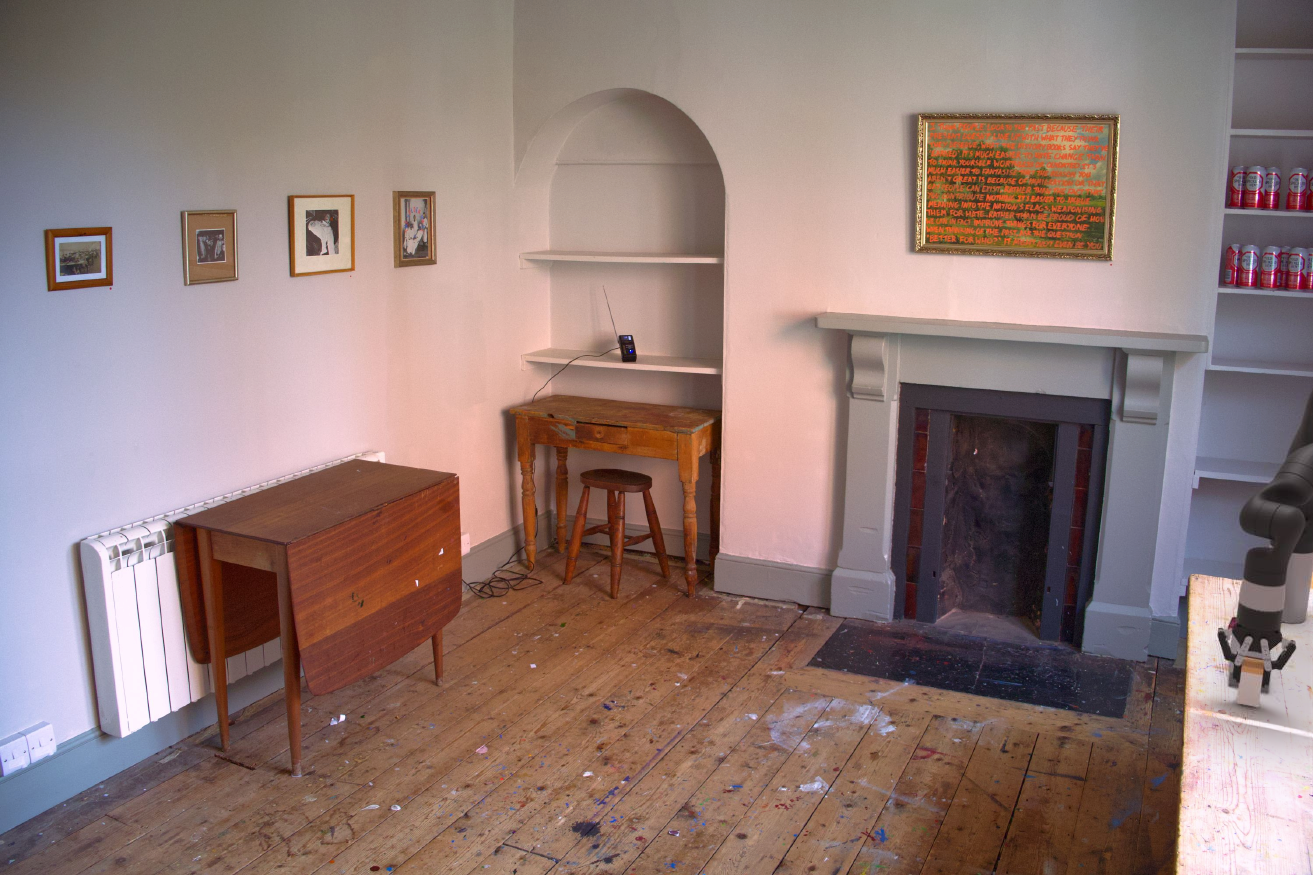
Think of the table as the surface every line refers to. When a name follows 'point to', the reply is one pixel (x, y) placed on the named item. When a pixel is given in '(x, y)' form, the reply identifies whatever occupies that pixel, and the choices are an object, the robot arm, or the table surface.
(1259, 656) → the power strip
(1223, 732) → the table surface
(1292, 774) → the table surface
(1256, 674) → the orange-topped block
